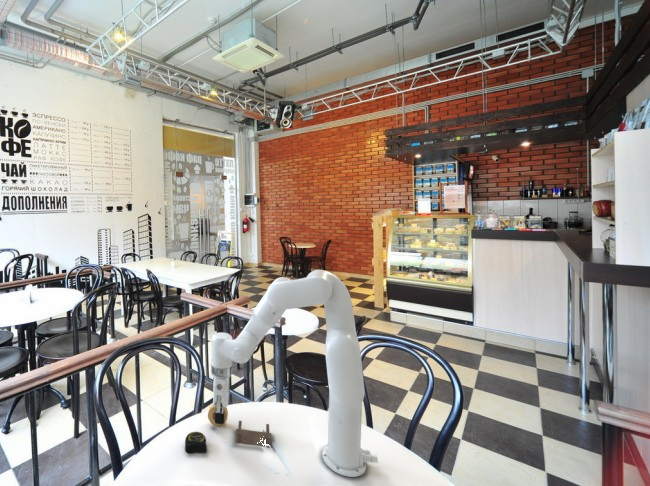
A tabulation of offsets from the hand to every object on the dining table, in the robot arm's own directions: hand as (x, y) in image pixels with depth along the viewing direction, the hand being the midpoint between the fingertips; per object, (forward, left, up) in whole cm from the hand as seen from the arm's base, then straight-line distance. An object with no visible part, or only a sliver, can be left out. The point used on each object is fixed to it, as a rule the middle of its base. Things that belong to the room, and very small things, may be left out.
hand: (219, 419), depth 117 cm
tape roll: (0, 0, -1) cm, 1 cm away
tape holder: (-12, +5, -2) cm, 13 cm away
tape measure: (+6, +13, -3) cm, 15 cm away
